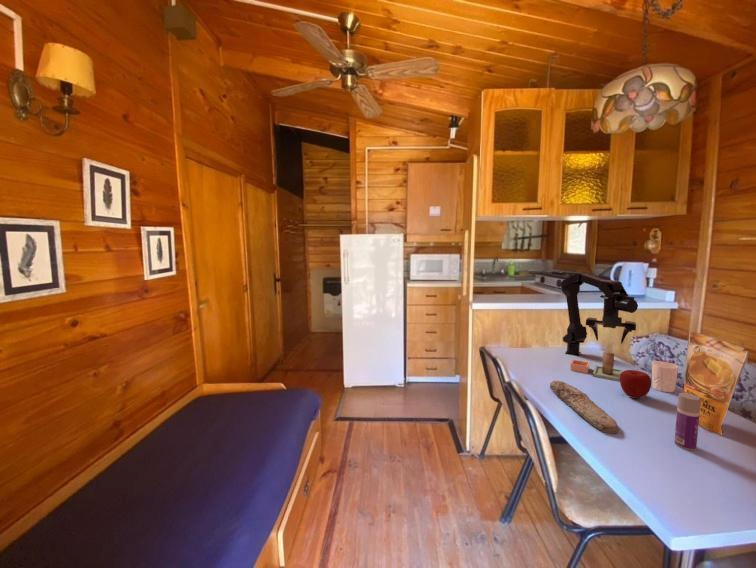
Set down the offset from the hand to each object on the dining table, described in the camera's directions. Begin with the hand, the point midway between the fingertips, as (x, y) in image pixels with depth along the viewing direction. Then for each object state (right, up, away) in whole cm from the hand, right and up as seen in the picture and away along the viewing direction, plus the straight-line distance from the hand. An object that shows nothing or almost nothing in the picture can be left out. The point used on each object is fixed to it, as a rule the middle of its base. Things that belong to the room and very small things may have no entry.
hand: (609, 342), depth 154 cm
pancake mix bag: (-1, -18, -45) cm, 49 cm away
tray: (-5, -14, -7) cm, 16 cm away
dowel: (-5, -13, -7) cm, 15 cm away
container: (-18, -20, -57) cm, 63 cm away
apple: (-9, -16, -27) cm, 32 cm away
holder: (-14, -13, 0) cm, 19 cm away
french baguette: (-34, -18, -33) cm, 51 cm away
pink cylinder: (+7, -15, -21) cm, 27 cm away
